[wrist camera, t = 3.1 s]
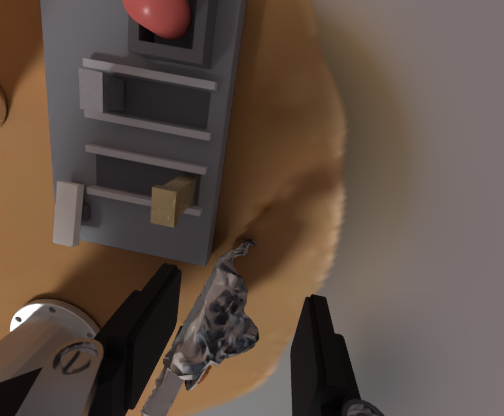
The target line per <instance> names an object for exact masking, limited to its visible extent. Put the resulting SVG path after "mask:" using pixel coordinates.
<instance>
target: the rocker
mask: <svg viewBox="0 0 504 416" xmlns="http://www.w3.org/2000/svg"><path fill="white" fill-rule="evenodd" d="M83 194H84V185H83V184H78V183H73V182H68V181H57V189H56V203H55V217H54V231H53V243H56V244H60V245H65V246H70V247H74V246H76V245H79V239H80V228H81V216H82V205H83Z"/></svg>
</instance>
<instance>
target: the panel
mask: <svg viewBox="0 0 504 416" xmlns="http://www.w3.org/2000/svg"><path fill="white" fill-rule="evenodd" d="M188 1H189V4H190V6H191V11H192V22H191V26H190V28H189V30H188V32H187V33H186V34H185V35H184V36H183V37H182V38H180V39H178V40H174V41H169V40H165V39H163V38H161V37H159V36H158V35H156V34H155V33H153V32H152V31H150V30H149V29H147V28H145V27H144V26H142V25H141V24H139V23H138V22H136V21H135V20H134V19H133V18H132V17H131V16H130V15H129V14H128V12H127V11H126V9H125V7H124V4H123V1H122V0H40V5H41V19H42V33H43V46H44V60H45V74H46V87H47V101H48V115H49V128H50V142H51V156H52V169H53V183H54V197H55V203H56V189H57V181H68V182H73V183H78V184H83V185H84V194H83V205H82V216H81V228H80V239H79V240H82V241H86V242H91V243H96V244H101V245H105V246H110V247H115V248H120V249H124V250H129V251H134V252H139V253H143V254H148V255H153V256H158V257H162V258H167V259H172V260H177V261H181V262H186V263H191V264H196V265H200V266H206V264H207V262H208V260H209V258H210V256H211V253H212V246H213V238H214V231H215V224H216V217H217V210H218V203H219V196H220V188H221V181H222V174H223V167H224V160H225V153H226V146H227V138H228V131H229V124H230V117H231V110H232V103H233V95H234V88H235V81H236V74H237V67H238V60H239V53H240V45H241V38H242V31H243V24H244V17H245V10H246V3H247V0H188ZM79 68H81V69H86V70H91V71H97V72H102V73H107V77H111V78H115V79H120V80H124V107H123V110H108V113H100V112H95V111H89V110H84V109H80V94H79ZM180 175H187V176H192V177H197V179H196V189H195V198H194V203H193V204H192V205H191V206H190V207H189V208H188V209H187V210H186V211H185V212H184V213H182V214H181V215H180V216H179V217H178V223H177V225H176V226H175V227H174V228H173V227H168V226H164V225H159V224H154V223H150V220H151V201H152V187H153V186H155V185H162V186H163V185H165V184H166V183H168V182H170V181H172V180H173V179H175V178H177V177H178V176H180Z"/></svg>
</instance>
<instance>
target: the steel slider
mask: <svg viewBox="0 0 504 416" xmlns="http://www.w3.org/2000/svg"><path fill="white" fill-rule="evenodd" d="M79 94H80V109H84V110H89V111H95V112H100V113H108V110H123V107H124V80H120V79H115V78H111V77H107V73H102V72H97V71H91V70H86V69H81V68H79Z"/></svg>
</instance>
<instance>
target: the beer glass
mask: <svg viewBox="0 0 504 416" xmlns="http://www.w3.org/2000/svg"><path fill="white" fill-rule="evenodd" d="M6 114H7V104H6V99H5V96H4V93H3V91H2V89H1V88H0V126H1V125H2V124H3V122H4V120H5V118H6Z"/></svg>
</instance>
